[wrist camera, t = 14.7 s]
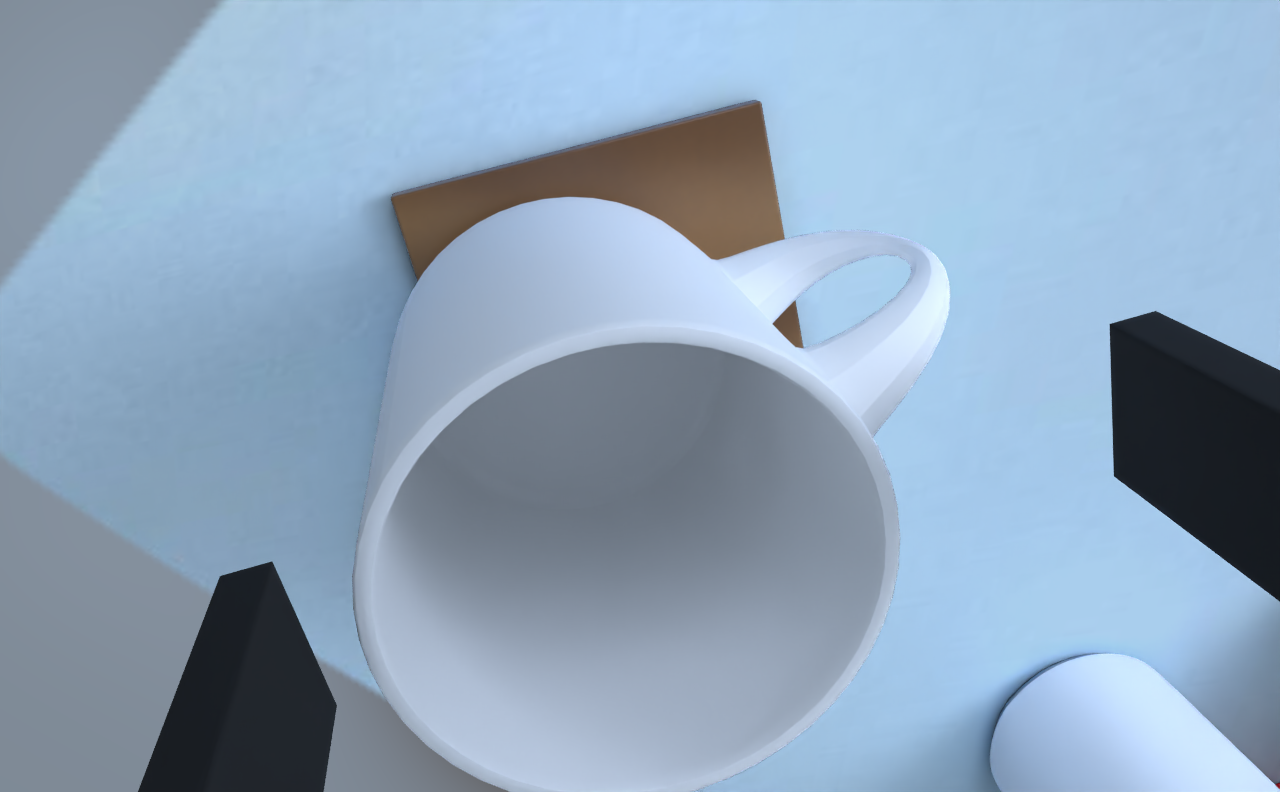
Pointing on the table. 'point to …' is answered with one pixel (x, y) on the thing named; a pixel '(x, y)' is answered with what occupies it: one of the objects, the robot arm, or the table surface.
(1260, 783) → the can
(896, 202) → the table surface
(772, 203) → the coaster
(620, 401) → the mug
